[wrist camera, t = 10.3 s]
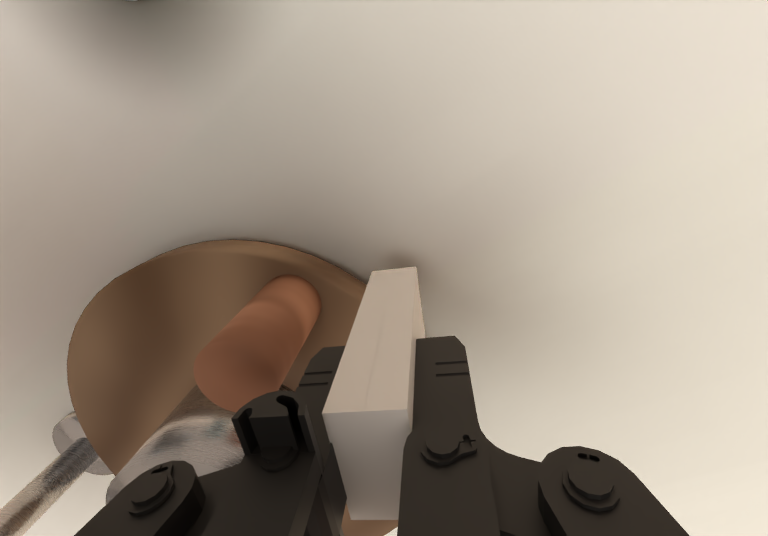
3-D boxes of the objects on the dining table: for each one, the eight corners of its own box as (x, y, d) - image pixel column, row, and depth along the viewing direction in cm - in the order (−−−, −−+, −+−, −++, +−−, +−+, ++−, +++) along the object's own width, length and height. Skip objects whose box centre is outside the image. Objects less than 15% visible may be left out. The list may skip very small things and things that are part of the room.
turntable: (86, 460, 22) (-36, 582, 16) (108, 174, 15) (-90, 207, 9) (367, 562, 23) (346, 714, 17) (509, 333, 16) (557, 456, 10)
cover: (171, 455, 19) (76, 580, 14) (195, 349, 16) (88, 455, 11) (300, 503, 19) (255, 643, 14) (345, 408, 16) (309, 537, 11)
